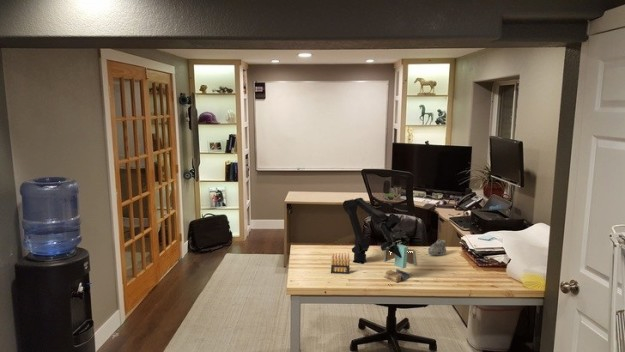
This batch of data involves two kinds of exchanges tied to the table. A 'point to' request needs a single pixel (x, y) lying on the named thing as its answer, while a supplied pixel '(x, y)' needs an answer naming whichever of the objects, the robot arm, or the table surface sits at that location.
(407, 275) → the rack
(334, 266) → the ammunition clip
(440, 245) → the mineral rock
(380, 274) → the table surface
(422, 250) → the table surface
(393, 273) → the offcut top
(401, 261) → the teal rectangular block
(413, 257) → the picture frame
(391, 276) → the offcut middle
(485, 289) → the table surface
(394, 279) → the offcut bottom
